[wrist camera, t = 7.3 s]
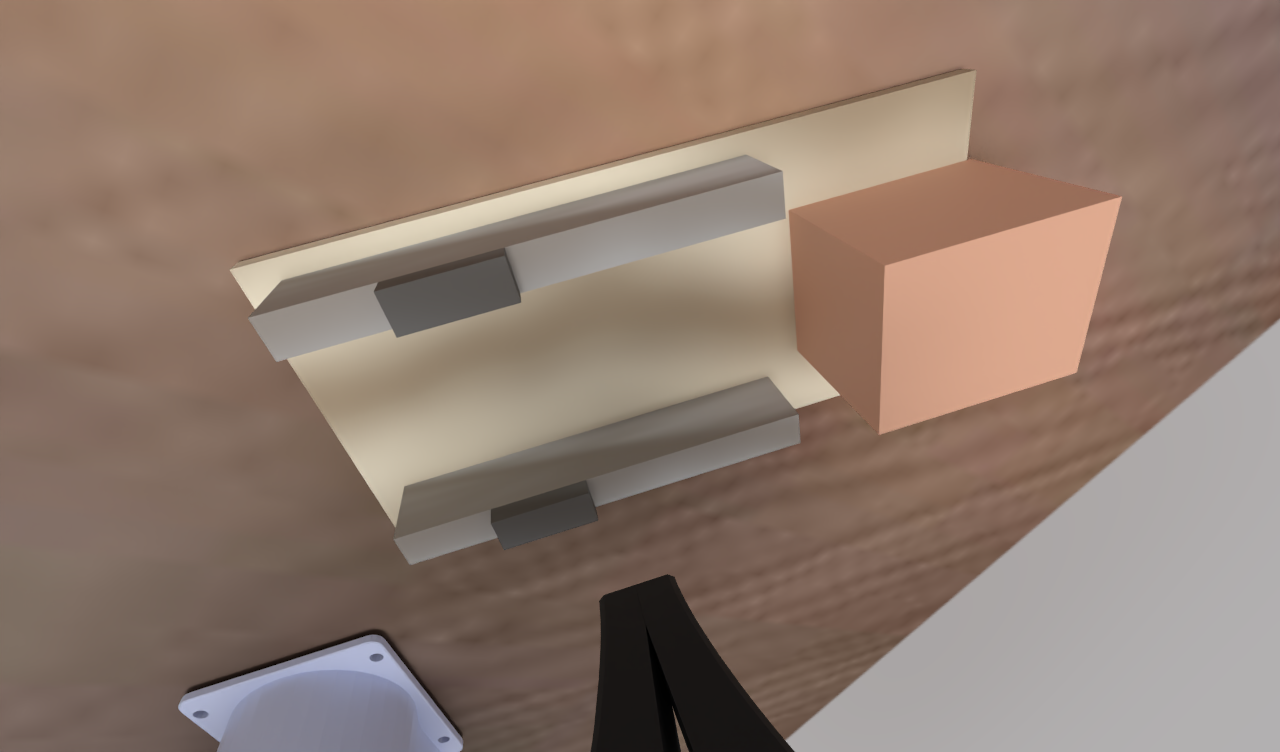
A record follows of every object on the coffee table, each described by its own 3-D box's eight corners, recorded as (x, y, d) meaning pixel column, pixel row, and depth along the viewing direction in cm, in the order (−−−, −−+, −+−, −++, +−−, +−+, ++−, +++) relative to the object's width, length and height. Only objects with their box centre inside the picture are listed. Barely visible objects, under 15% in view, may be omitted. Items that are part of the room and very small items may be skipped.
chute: (934, 355, 22) (1005, 405, 19) (400, 519, 20) (383, 602, 17) (961, 68, 17) (1066, 75, 14) (238, 262, 15) (173, 317, 12)
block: (955, 303, 20) (1076, 372, 16) (797, 350, 20) (879, 434, 15) (970, 159, 17) (1121, 196, 13) (788, 210, 17) (884, 266, 13)
